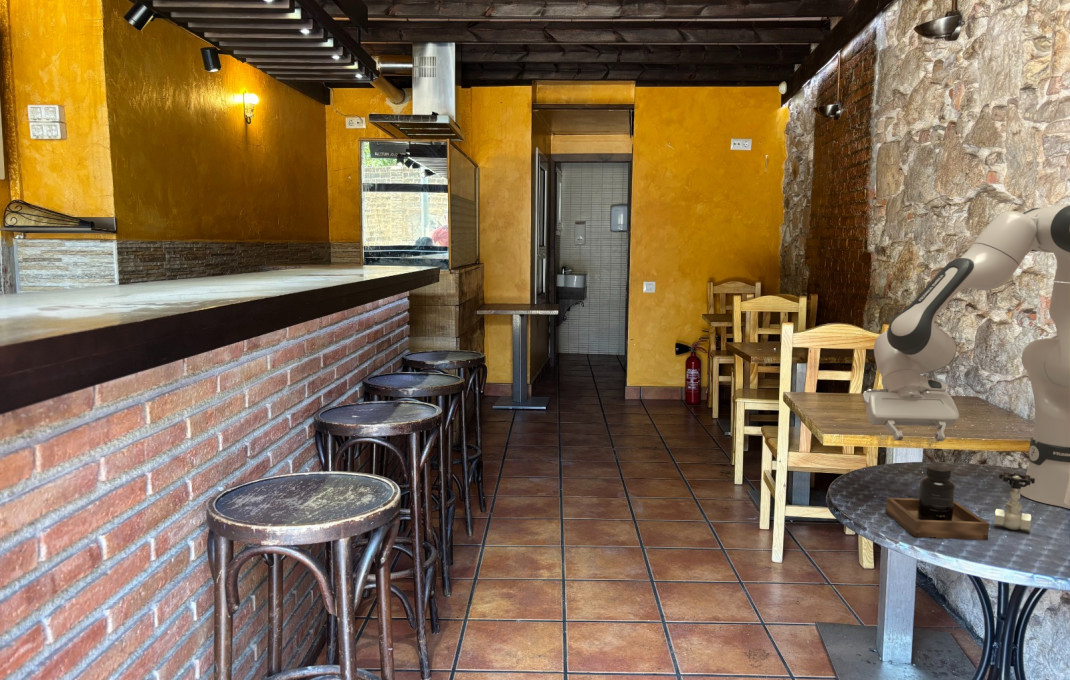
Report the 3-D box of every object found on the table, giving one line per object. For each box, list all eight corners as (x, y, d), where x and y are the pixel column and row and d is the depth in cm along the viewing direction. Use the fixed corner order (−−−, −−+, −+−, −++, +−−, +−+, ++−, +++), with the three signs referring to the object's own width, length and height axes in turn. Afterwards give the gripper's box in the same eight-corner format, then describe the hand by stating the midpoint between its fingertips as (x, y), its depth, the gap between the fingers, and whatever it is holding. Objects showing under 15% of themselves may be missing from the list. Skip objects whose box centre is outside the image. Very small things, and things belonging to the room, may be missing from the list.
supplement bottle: (912, 514, 172) (917, 462, 170) (944, 516, 171) (949, 464, 169) (923, 525, 165) (928, 471, 164) (957, 527, 164) (962, 473, 163)
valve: (1029, 537, 162) (1035, 482, 161) (993, 530, 166) (998, 477, 164) (1029, 527, 168) (1034, 474, 166) (994, 521, 171) (999, 469, 170)
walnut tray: (952, 514, 175) (953, 499, 174) (987, 539, 160) (989, 523, 160) (885, 512, 176) (886, 497, 175) (914, 537, 161) (916, 521, 160)
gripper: (864, 381, 182) (878, 431, 174) (952, 383, 181) (970, 433, 173) (856, 396, 187) (869, 445, 179) (941, 398, 186) (958, 447, 178)
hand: (919, 439), depth 176 cm, fingers open, 8 cm apart
